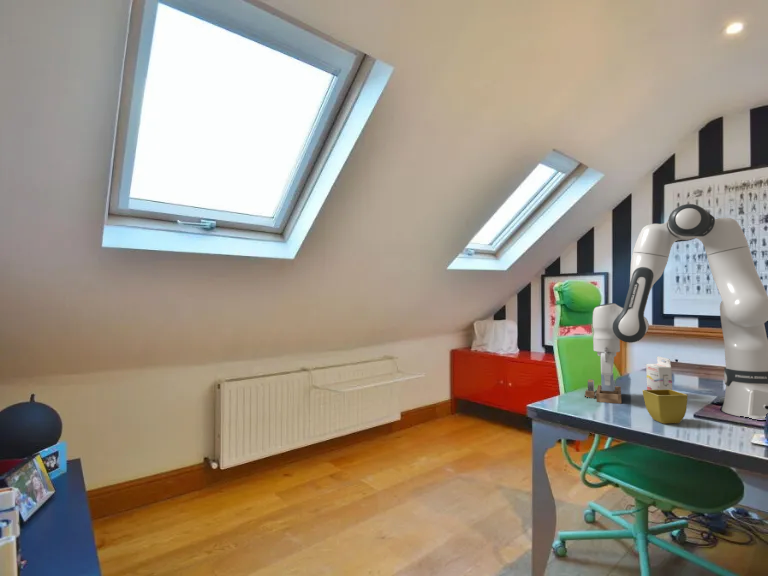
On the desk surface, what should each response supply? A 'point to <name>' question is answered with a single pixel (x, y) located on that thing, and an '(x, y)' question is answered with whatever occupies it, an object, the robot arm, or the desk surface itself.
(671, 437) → the desk surface
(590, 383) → the latch bar
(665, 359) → the ink cartridge box
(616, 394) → the housing
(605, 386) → the loose jaw
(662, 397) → the flower pot
